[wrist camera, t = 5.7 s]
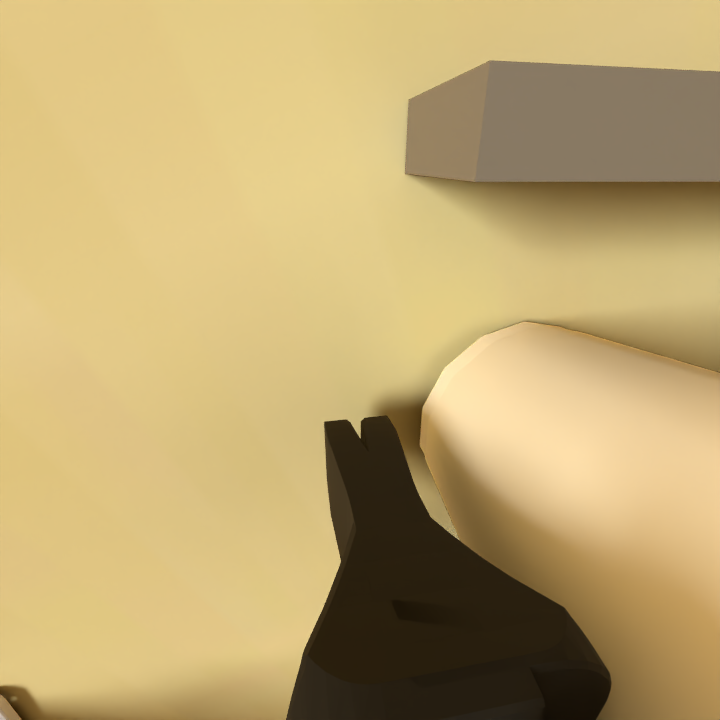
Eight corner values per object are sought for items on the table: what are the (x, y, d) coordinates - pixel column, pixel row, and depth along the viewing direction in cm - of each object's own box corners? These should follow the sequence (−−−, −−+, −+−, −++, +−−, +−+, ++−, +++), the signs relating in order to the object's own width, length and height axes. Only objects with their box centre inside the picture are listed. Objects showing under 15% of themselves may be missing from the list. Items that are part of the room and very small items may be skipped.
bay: (701, 533, 19) (796, 619, 15) (383, 583, 17) (410, 698, 13) (937, 116, 11) (1235, 96, 8) (408, 100, 9) (489, 61, 5)
